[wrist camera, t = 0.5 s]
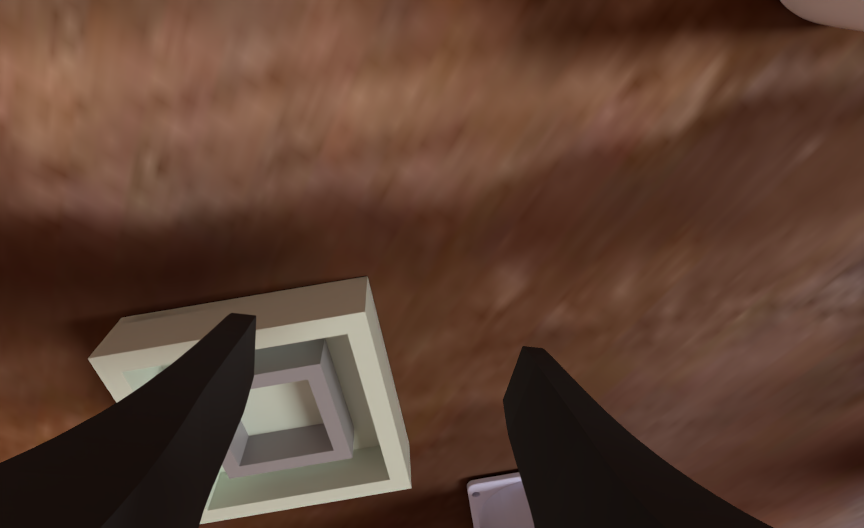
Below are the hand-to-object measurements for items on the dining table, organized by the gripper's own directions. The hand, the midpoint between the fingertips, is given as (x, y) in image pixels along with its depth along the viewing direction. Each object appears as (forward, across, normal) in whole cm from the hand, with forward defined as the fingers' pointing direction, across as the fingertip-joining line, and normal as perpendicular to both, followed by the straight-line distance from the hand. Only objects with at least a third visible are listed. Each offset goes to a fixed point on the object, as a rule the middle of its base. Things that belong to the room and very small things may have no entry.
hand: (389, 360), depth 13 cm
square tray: (+10, +4, +11) cm, 15 cm away
